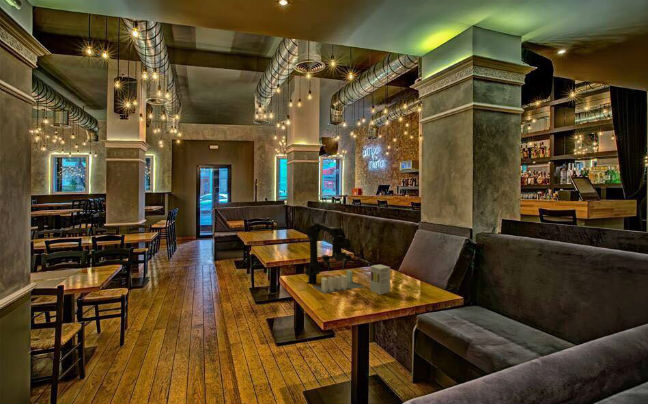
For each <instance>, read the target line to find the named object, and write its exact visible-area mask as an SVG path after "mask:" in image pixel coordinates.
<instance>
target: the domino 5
mask: <svg viewBox="0 0 648 404" xmlns="http://www.w3.org/2000/svg"><path fill="white" fill-rule="evenodd" d="M353 274H354V272H353V270H351V269H346V274H345V276H347V282H349V283H353V282H354V280H353Z"/></svg>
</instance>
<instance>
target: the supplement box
mask: <svg viewBox="0 0 648 404" xmlns="http://www.w3.org/2000/svg"><path fill="white" fill-rule="evenodd" d="M369 277H370V281H369V283H370V285H369V288H370V289H369V291H371V292H374V293H376V294H377V295H383V294H389V293H390V291H391V289H390V287H391V266H387V265H385V264H374V265H371V266H370V276H369Z"/></svg>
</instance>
